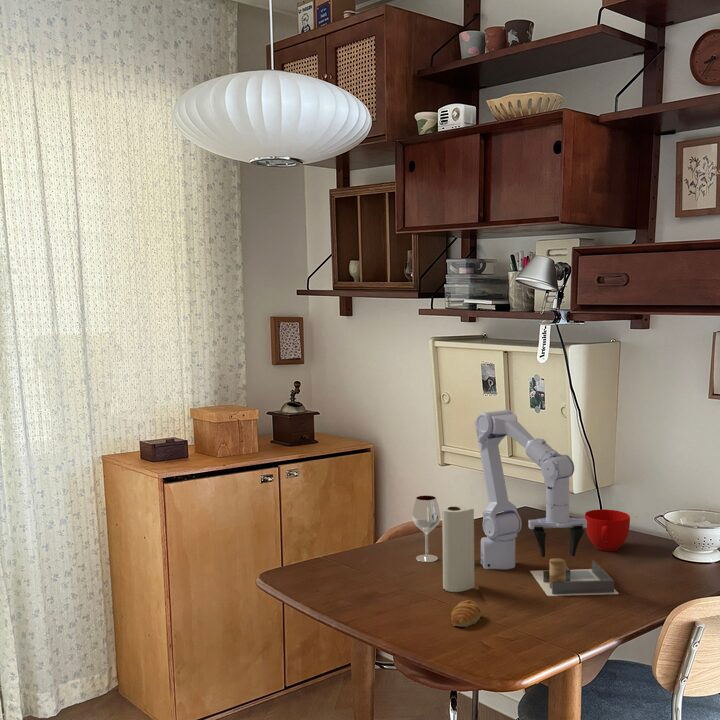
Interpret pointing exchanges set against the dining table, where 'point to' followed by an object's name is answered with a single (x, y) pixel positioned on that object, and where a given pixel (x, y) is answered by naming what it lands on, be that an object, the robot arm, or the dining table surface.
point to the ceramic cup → (607, 528)
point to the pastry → (466, 614)
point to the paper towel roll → (458, 548)
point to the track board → (574, 576)
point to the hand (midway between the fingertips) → (557, 555)
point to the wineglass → (426, 521)
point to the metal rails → (582, 583)
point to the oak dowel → (557, 570)
